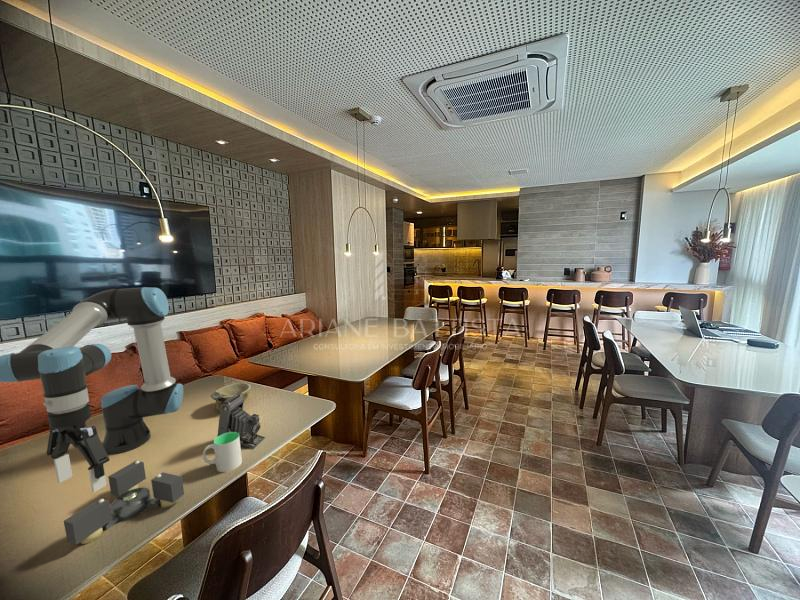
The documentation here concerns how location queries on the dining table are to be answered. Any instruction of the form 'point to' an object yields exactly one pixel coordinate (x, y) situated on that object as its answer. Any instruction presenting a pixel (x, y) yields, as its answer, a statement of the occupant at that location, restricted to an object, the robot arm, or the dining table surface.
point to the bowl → (230, 393)
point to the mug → (226, 452)
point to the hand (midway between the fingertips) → (82, 483)
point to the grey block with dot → (127, 478)
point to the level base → (131, 505)
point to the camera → (239, 421)
